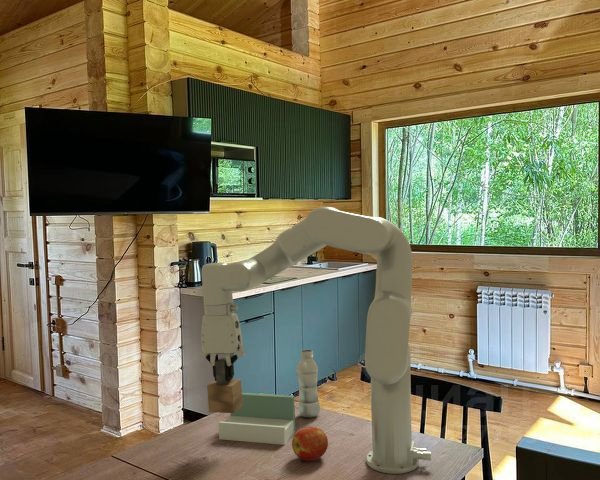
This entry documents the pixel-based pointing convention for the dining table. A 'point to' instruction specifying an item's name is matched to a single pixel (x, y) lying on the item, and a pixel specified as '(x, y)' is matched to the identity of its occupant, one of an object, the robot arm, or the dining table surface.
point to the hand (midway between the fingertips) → (224, 379)
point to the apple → (309, 443)
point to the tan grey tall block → (224, 391)
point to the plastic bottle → (307, 385)
